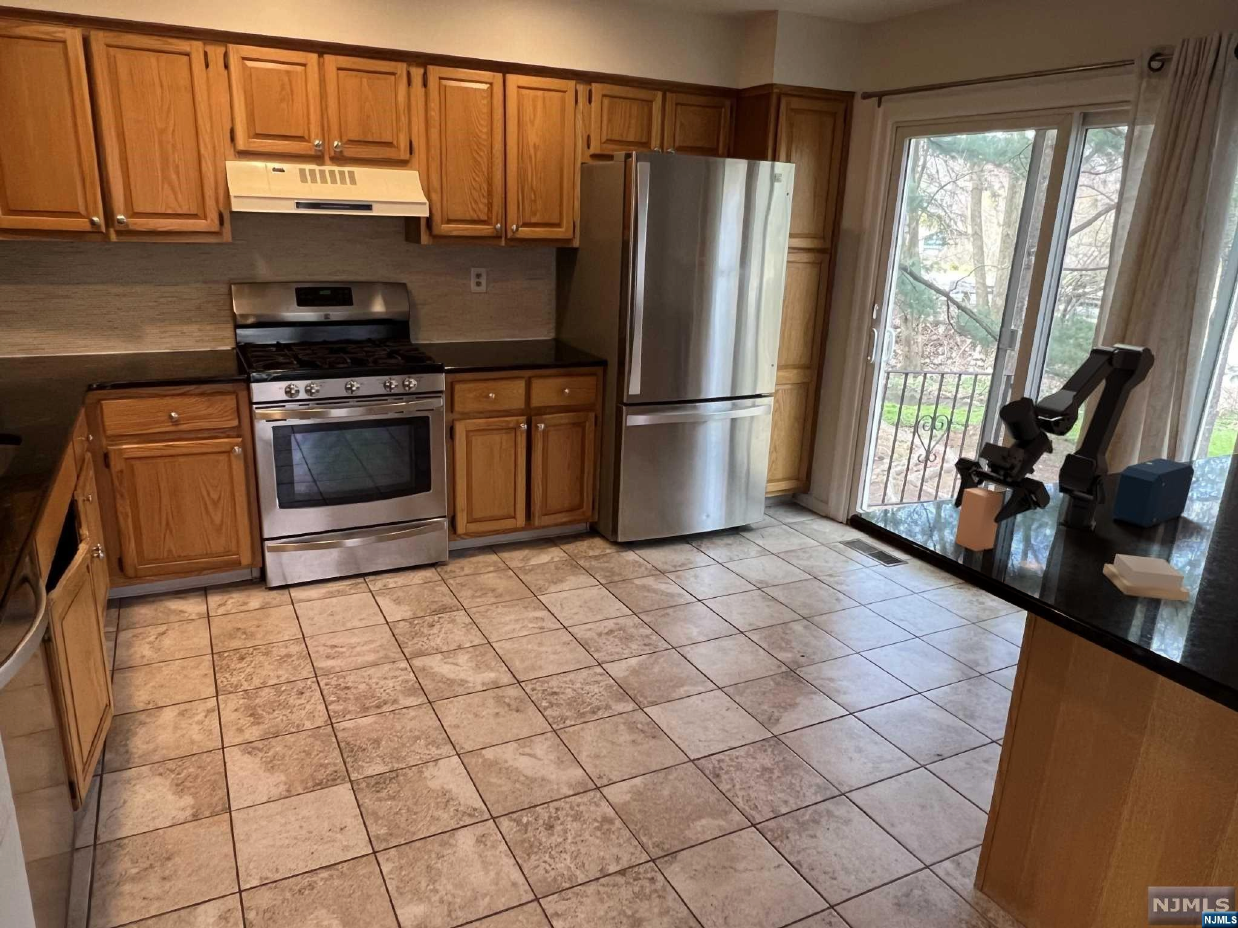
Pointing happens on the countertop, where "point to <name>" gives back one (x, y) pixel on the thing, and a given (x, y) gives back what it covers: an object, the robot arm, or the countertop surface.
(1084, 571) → the countertop surface
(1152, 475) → the navy rounded box
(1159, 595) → the tower base
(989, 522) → the pillar block
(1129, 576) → the tower top
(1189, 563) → the countertop surface
